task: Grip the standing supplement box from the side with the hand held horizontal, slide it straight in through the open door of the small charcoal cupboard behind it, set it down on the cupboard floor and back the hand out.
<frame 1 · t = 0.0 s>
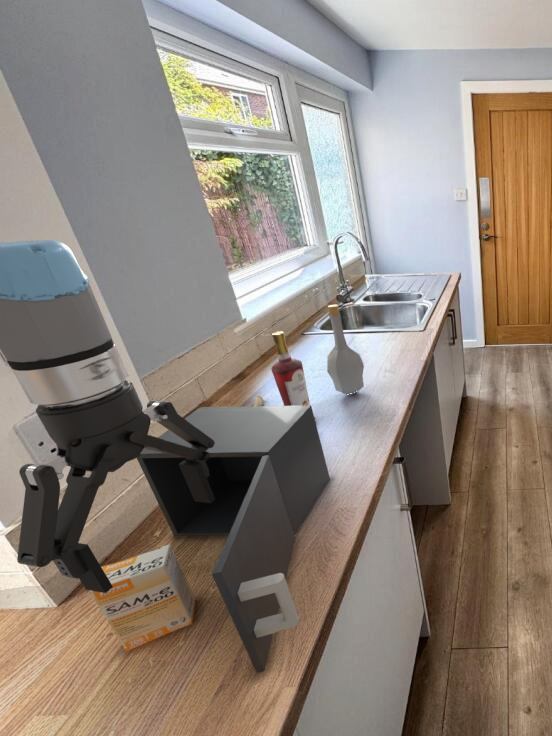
hand: (158, 539, 51), 22 cm above the table, tool pointing down, fingers open, 13 cm apart
bottle: (351, 395, 131), on the table
supplement box: (164, 626, 63), on the table
liquor: (303, 426, 115), on the table
cabinet door: (282, 547, 64), point 10 cm above the table, hinge at 108.0°
long-handled mallet: (253, 427, 115), on the table
cabinet: (259, 506, 86), on the table
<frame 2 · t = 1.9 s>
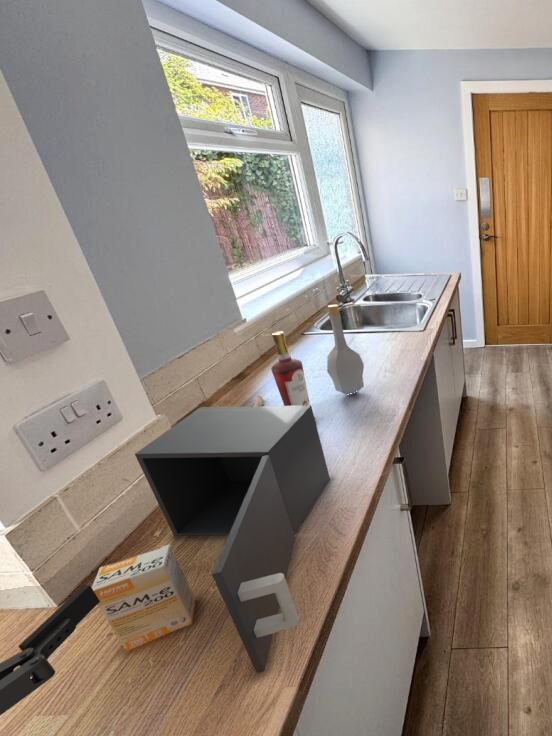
hand: (34, 593, 46), 20 cm above the table, tool horizontal, fingers open, 13 cm apart
nothing on the table moved.
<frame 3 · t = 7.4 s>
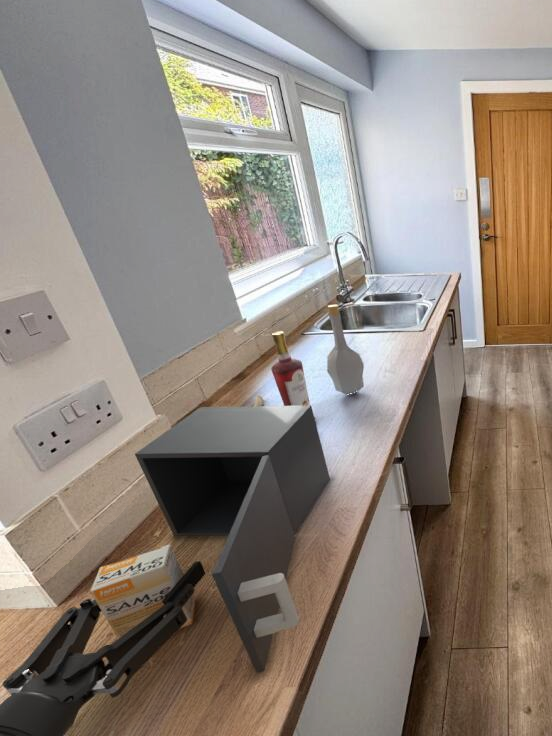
hand: (170, 567, 64), 7 cm above the table, tool horizontal, fingers closed on supplement box, 9 cm apart
supplement box: (164, 626, 63), on the table, touching gripper
everything else where it was.
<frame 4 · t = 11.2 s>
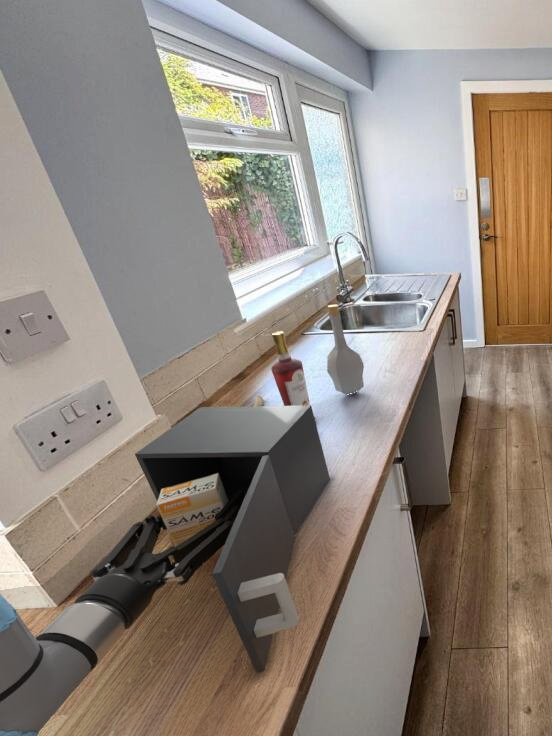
hand: (217, 495, 74), 11 cm above the table, tool horizontal, fingers closed on supplement box, 9 cm apart
supplement box: (212, 545, 73), point 3 cm above the table, touching gripper
everything else where it was.
when the fingers open (8 cm above the table, at t = 15.2 s): supplement box stays where it is, resting on cabinet.
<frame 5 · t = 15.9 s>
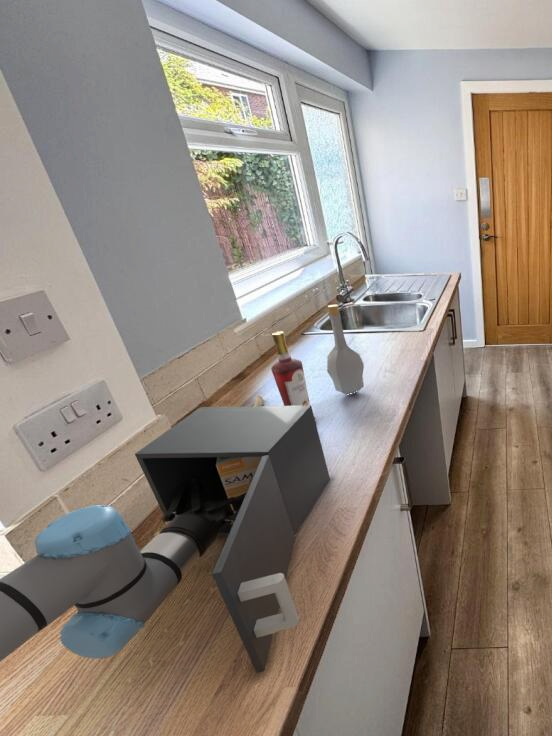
hand: (256, 463, 86), 9 cm above the table, tool horizontal, fingers open, 13 cm apart
supplement box: (258, 503, 86), point 1 cm above the table, touching cabinet
everything else where it was.
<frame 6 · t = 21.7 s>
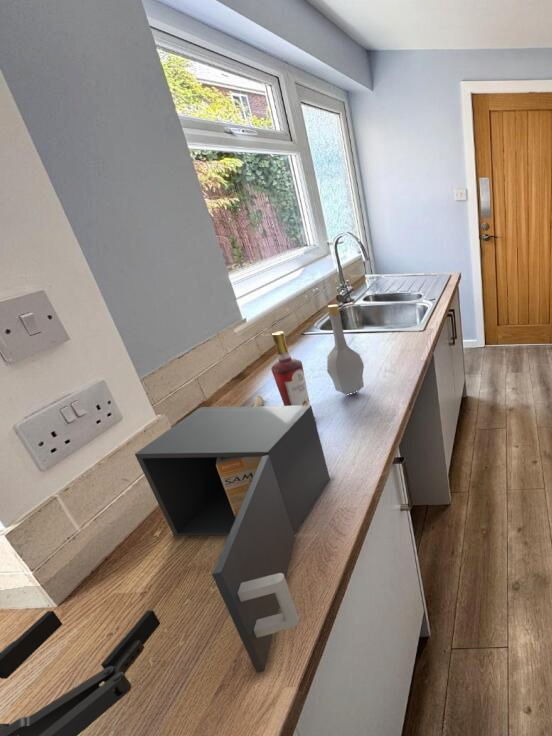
hand: (104, 617, 54), 10 cm above the table, tool horizontal, fingers open, 13 cm apart
nothing on the table moved.
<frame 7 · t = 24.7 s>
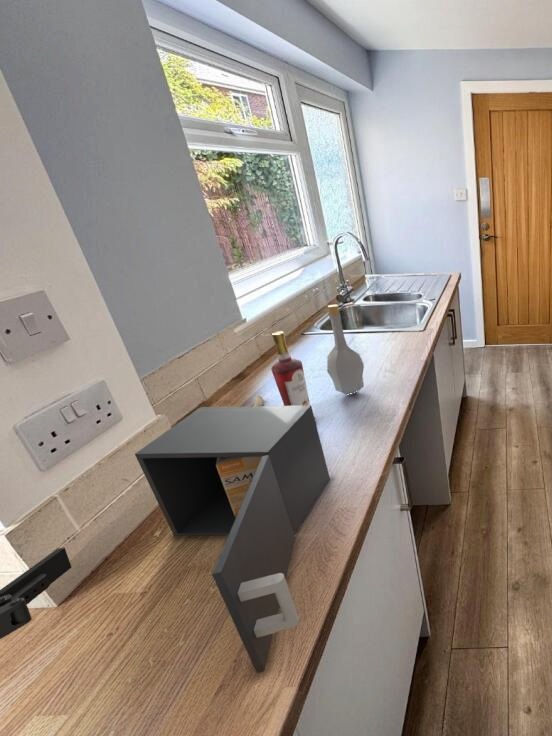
nothing on the table moved.
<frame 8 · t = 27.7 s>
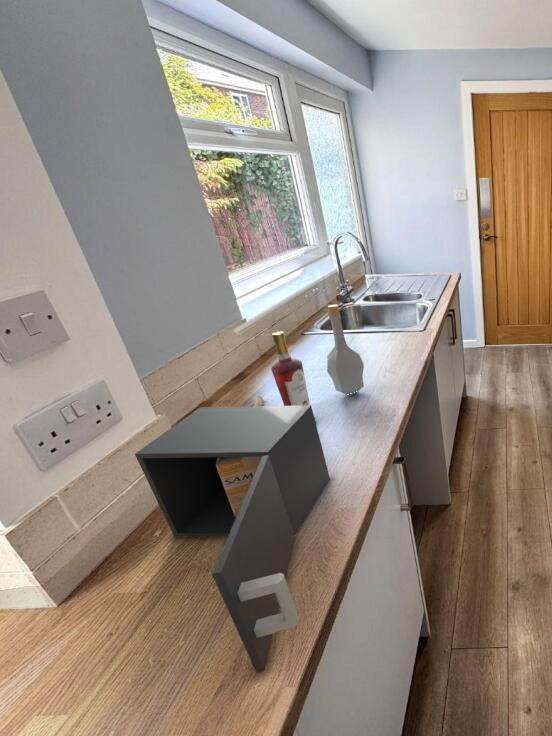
nothing on the table moved.
at the end: supplement box inside the target area in the cabinet (0.0 cm from its centre), point 0.8 cm above the cabinet's base; supplement box tilted 0°; the gripper is holding nothing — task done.
